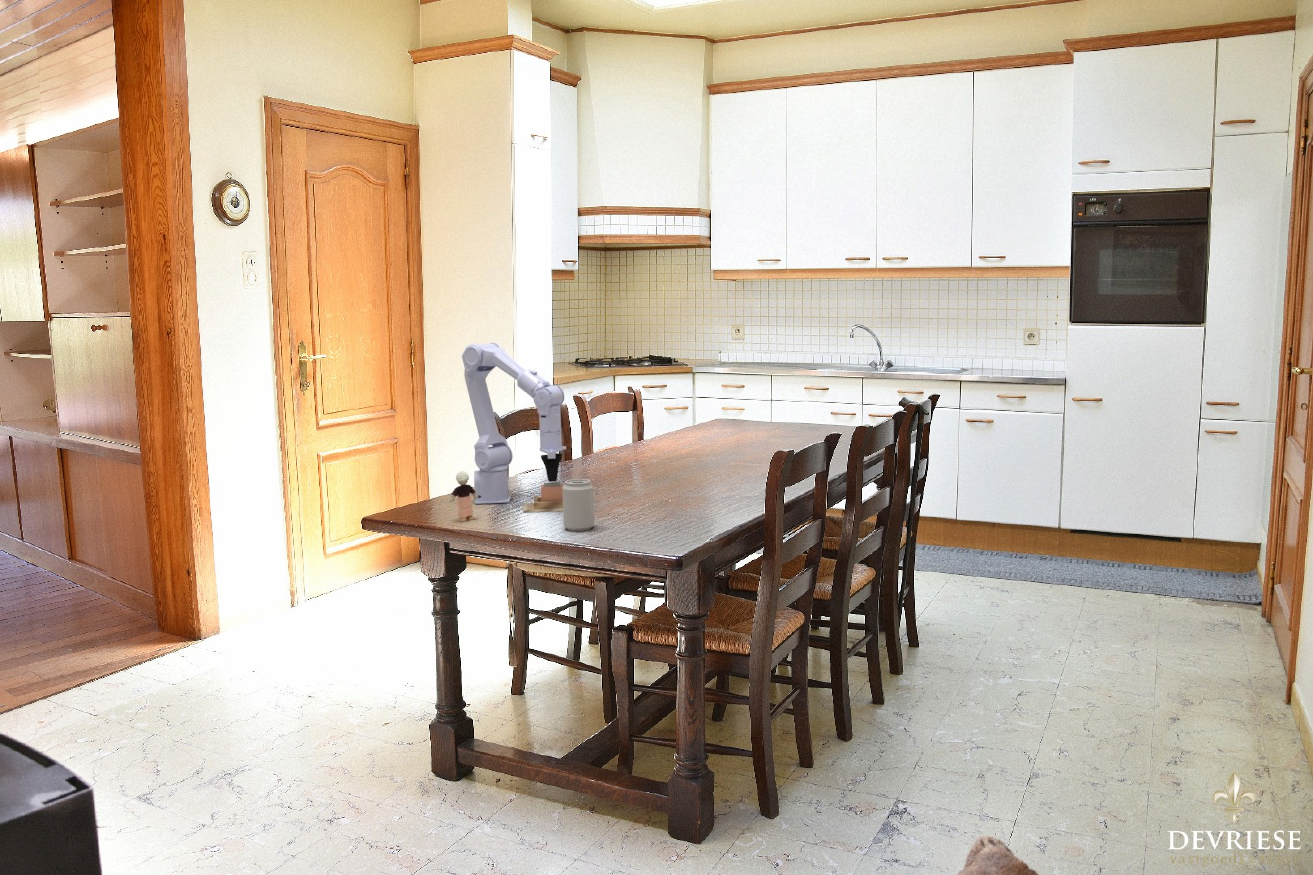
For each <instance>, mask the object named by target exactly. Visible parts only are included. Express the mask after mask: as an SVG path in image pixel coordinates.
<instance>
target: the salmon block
mask: <svg viewBox="0 0 1313 875" xmlns="http://www.w3.org/2000/svg"><path fill="white" fill-rule="evenodd" d="M563 486H564V483H561V481H559V482H558V481H555V482H543V484H540V494H541V495H540V497H541V502H548V501H563V492H562V488H563Z"/></svg>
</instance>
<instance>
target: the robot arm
mask: <svg viewBox="0 0 1313 875" xmlns="http://www.w3.org/2000/svg"><path fill="white" fill-rule="evenodd" d="M461 358H462V363H463V366H464V372H463V373H464V375H463V376H464V381H465V385H466V389H467V393H468V397H469V401H470V404H471V408H472V409H471V410H472V413H473V417H474V421H475V425H476V430H477V433H478V440H477V441H476V442H475V443H474V445H473V448H474V463H475V465H476V467H477V468H478V469H479V470H474V473H473V484H474V486H473V487H474V488H473V489H474V490H475V492H476V495H477V496H478V498H477V499H475V498H474V504H475V505H480V504H481V505H482V504H503V503H504V504H505V503H507V504H508V503H510V502H511V495H509V481H508V480H509V478H508V474H509V473H508V469H509V467H510V466H509V465H510V464H512V460H513V458H514V457H513V451H512V449H511V447H510V446H509V444H508V441H507V439H506V437H505V436H503V435H501V434H500V433H499V429H498V425H497V421H496V416H495V413H494V409H493V405H492V401H491V397H490V396H491V395H490V392H489V389H488V385H487V377H488V375H489V374H490V373H491V372H492V371H493V370H494V369H495V368H496V367H497V368H498V369H500V370H501V371H502V372H504V373H506V375H508V376H510V377H512V378H513V379H514V380H516V382H517V383H516V384H517V387H518V388H520V389H521V390H522V391H523V392H525V393H526V394H527V395H528V396H529V397H531V398H533V403H534V405H535V407H536V408H537V413H538V420H539V444H540V445H539V446H540V447H539V451H540V452H542V453H545V454H541V455H540V459H541V461H542V462H543V465H544V468H545V472H546V473H545V474H546V478H547V480H548V483H552V482H558V474H559V466H560V463H561V461H562V458H563V454H562V453H560V452H562V451H565V450H567V446H563V445H562V444H563V442H562V440H563V438H562V417H561V416H562V414H561V413H562V412H561V406H562V405H563V403H564V401H565V393H564V390H563V389H562V388H561V387H560V386H559V385H558V384H550V382H549V381H548V380H545V379H544V378H542V377H541V376H540V375H539V374H538V371H536V370H535V369H533V370H531V369H526V370H525V369H524V368H523V367H522V366H521V365H520V364H519V363H517V361H515V360H514V359H513V358H512V357H511V356H509V355H508V353H506V352H505V348H504V347H502V346H500V345H499V344H498V343H497V342H490V343H481V344H478V343H477V344H474V343H473V344H469V345H467V346H466V347H465V348H464V350H463V352H462V355H461Z"/></svg>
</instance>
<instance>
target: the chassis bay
mask: <svg viewBox="0 0 1313 875" xmlns="http://www.w3.org/2000/svg"><path fill="white" fill-rule="evenodd" d="M522 511H523V512H522V513H524V514H525V513H546V512H563V501H548V502H541V496H533V502H532V503H523V510H522Z"/></svg>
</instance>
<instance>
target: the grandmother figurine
mask: <svg viewBox="0 0 1313 875" xmlns="http://www.w3.org/2000/svg"><path fill="white" fill-rule="evenodd" d="M455 480H456V481H457V483H458V485H459V486H457V487H455V488H454V489H453V491H452V492H451V496H450V498H449V501H450V502H451V503H453V502H455V498H456V497H457V506H458V513H457V514H458V518H457V522H467V521H472V520H475V518H474V516H473V515H474V513H473V510H474V509H473V504H472V500H471V496H470V495H472V496H473V498H474V500H475V499H477V498H478V496H477V495H476V492H475V488H473V486H472V485H471V484H467V483H468V481H469V480H470V476H469V474H468V473H467V472H466V471H459V472H458V473H457V474H456V475H455Z"/></svg>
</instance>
